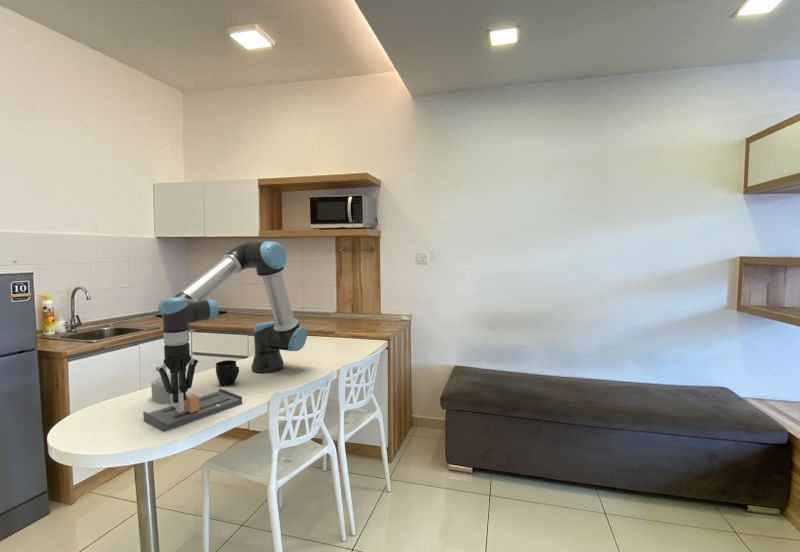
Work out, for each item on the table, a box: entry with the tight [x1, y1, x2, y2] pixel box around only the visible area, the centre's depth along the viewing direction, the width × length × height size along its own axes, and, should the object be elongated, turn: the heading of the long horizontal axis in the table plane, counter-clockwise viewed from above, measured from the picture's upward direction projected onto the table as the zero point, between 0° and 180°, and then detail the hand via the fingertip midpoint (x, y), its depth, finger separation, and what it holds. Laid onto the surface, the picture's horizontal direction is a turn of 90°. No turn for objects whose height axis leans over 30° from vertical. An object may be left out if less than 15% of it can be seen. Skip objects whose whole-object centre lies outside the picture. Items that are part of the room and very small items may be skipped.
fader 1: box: [170, 390, 185, 408], centre depth 142 cm, size 3×4×5 cm
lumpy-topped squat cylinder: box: [150, 373, 179, 405], centre depth 156 cm, size 10×13×9 cm
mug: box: [215, 359, 240, 387], centre depth 171 cm, size 8×12×10 cm
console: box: [142, 388, 243, 433], centre depth 143 cm, size 28×15×3 cm, turn 145°
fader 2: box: [185, 393, 200, 413], centre depth 138 cm, size 3×4×5 cm
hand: (179, 410), depth 135 cm, fingers closed
